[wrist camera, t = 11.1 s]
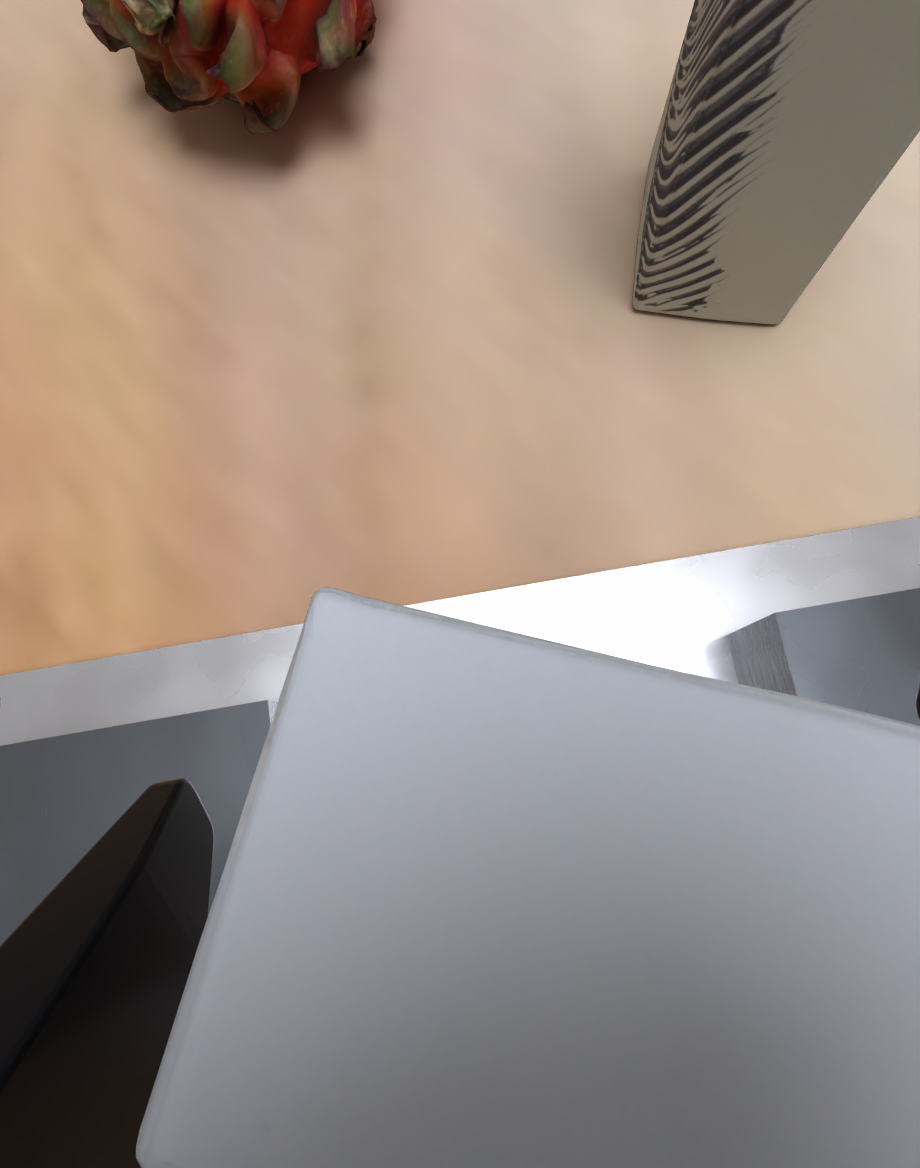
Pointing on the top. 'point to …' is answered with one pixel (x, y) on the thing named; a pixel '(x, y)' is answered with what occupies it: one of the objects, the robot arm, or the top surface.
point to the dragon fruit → (232, 48)
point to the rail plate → (544, 610)
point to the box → (771, 149)
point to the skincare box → (551, 919)
